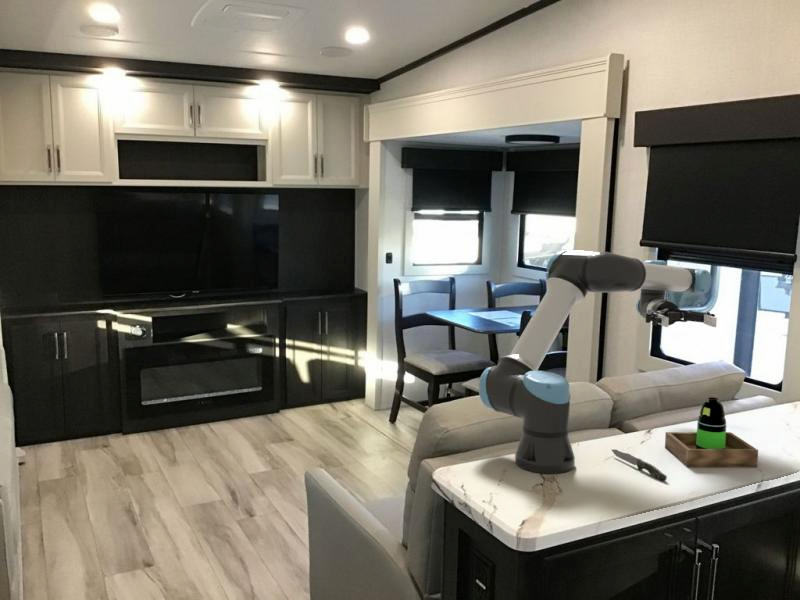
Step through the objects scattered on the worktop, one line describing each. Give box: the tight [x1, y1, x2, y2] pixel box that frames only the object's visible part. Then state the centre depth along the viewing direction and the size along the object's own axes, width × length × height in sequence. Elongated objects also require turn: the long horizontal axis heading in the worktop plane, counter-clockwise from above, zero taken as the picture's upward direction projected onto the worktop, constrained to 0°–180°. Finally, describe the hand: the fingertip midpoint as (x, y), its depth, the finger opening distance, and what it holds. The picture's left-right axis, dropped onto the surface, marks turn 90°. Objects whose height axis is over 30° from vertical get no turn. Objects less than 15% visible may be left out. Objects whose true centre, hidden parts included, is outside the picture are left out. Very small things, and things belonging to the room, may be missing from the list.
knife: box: [611, 449, 668, 482], centre depth 177 cm, size 20×1×3 cm, turn 22°
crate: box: [664, 431, 759, 468], centre depth 185 cm, size 18×15×4 cm
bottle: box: [696, 396, 727, 449], centre depth 185 cm, size 7×7×15 cm
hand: (691, 322), depth 197 cm, fingers open, 13 cm apart
